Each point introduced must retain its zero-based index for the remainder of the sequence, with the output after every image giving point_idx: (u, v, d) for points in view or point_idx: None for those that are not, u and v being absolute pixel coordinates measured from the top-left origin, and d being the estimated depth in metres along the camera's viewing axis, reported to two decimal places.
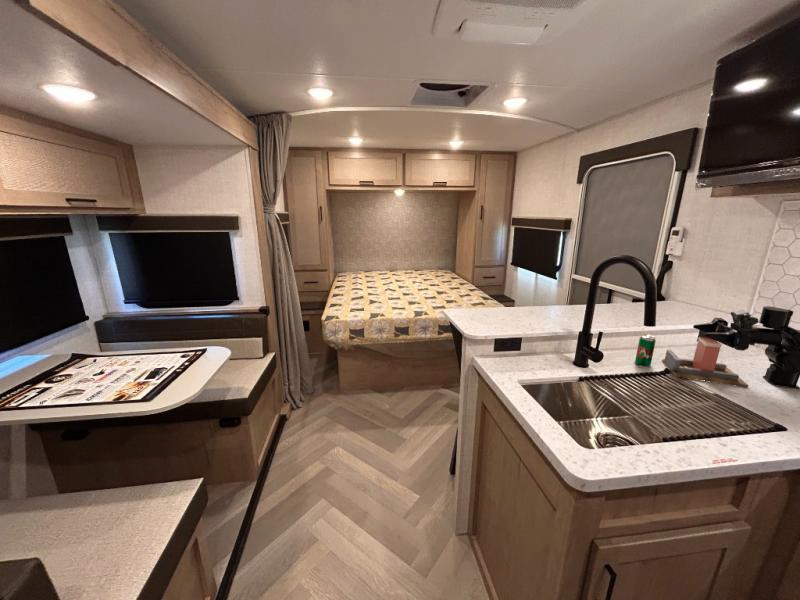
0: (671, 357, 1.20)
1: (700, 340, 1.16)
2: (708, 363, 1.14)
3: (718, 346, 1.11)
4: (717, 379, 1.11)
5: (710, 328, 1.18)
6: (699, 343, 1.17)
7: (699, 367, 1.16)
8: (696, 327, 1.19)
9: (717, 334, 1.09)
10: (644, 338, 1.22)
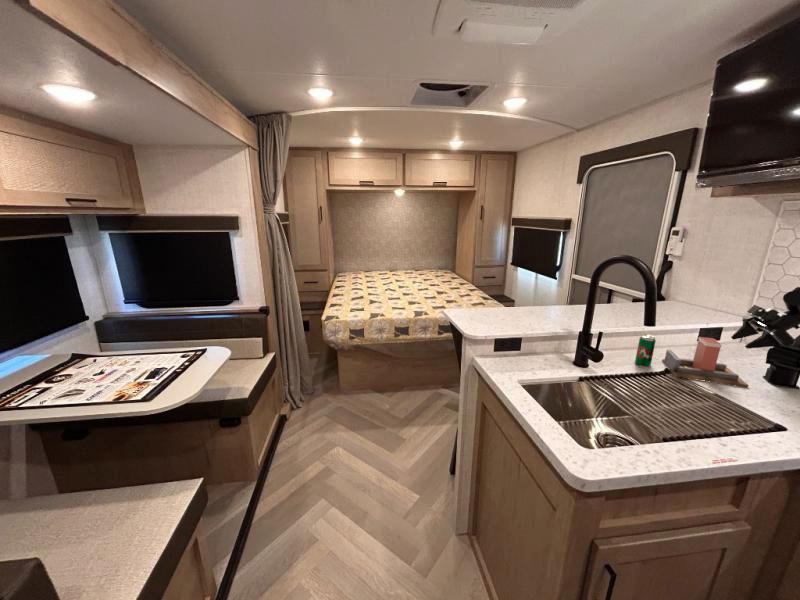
0: (671, 357, 1.20)
1: (700, 340, 1.16)
2: (708, 363, 1.14)
3: (719, 346, 1.11)
4: (717, 379, 1.11)
5: (748, 330, 1.13)
6: (699, 343, 1.17)
7: (699, 367, 1.16)
8: (735, 337, 1.15)
9: (756, 342, 1.05)
10: (644, 338, 1.22)
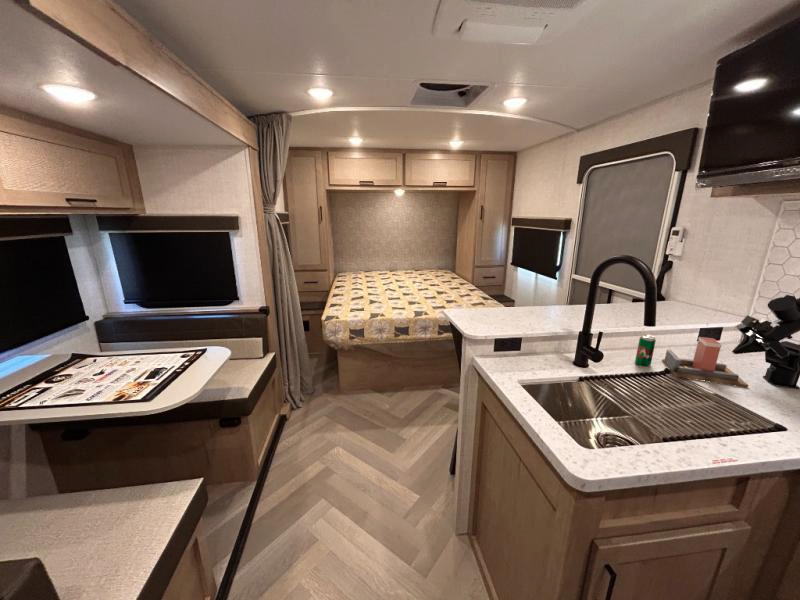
0: (671, 357, 1.20)
1: (700, 340, 1.16)
2: (708, 363, 1.14)
3: (719, 346, 1.11)
4: (717, 379, 1.11)
5: None
6: (699, 343, 1.17)
7: (699, 367, 1.16)
8: None
9: (743, 347, 1.10)
10: (644, 338, 1.22)
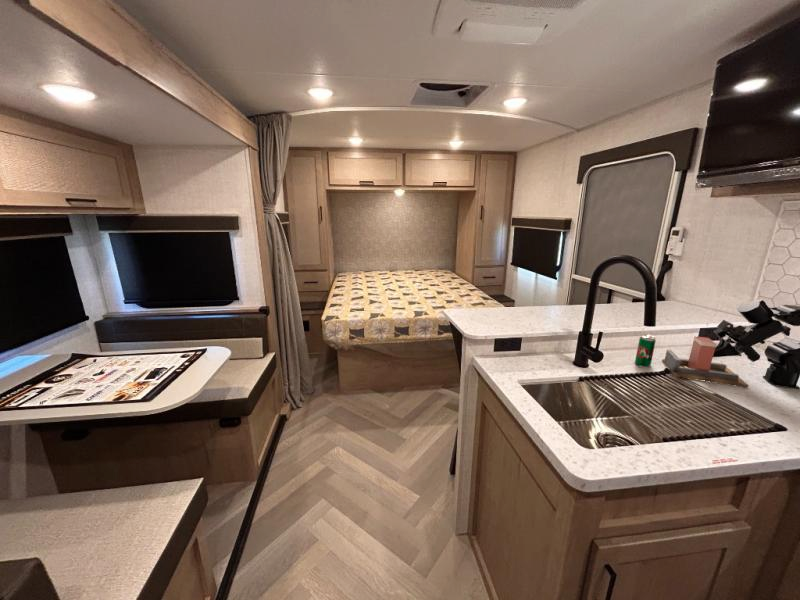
0: (671, 357, 1.20)
1: (696, 340, 1.17)
2: (703, 362, 1.14)
3: (714, 345, 1.12)
4: (717, 379, 1.11)
5: None
6: (694, 343, 1.18)
7: (694, 366, 1.16)
8: None
9: (718, 351, 1.13)
10: (644, 338, 1.22)
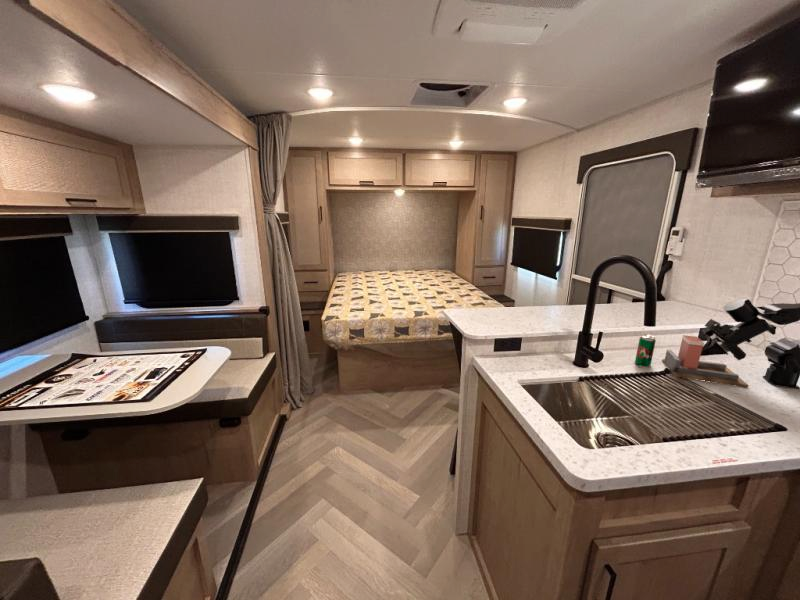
0: (671, 357, 1.20)
1: (684, 338, 1.18)
2: (691, 361, 1.16)
3: (701, 344, 1.13)
4: (717, 379, 1.11)
5: None
6: (683, 341, 1.19)
7: (683, 365, 1.17)
8: None
9: (705, 350, 1.15)
10: (644, 338, 1.22)
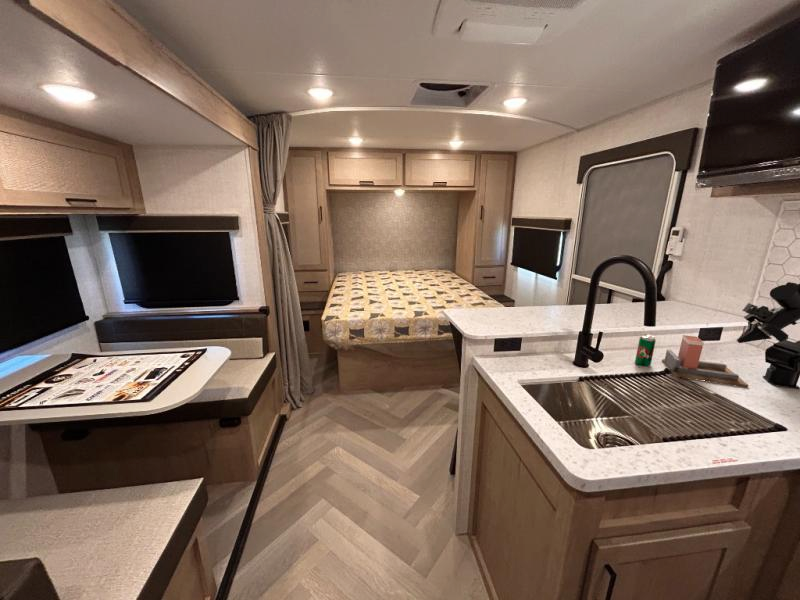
0: (671, 357, 1.20)
1: (684, 338, 1.18)
2: (691, 361, 1.16)
3: (701, 344, 1.13)
4: (717, 379, 1.11)
5: None
6: (683, 341, 1.19)
7: (683, 365, 1.17)
8: None
9: (746, 335, 1.10)
10: (644, 338, 1.22)
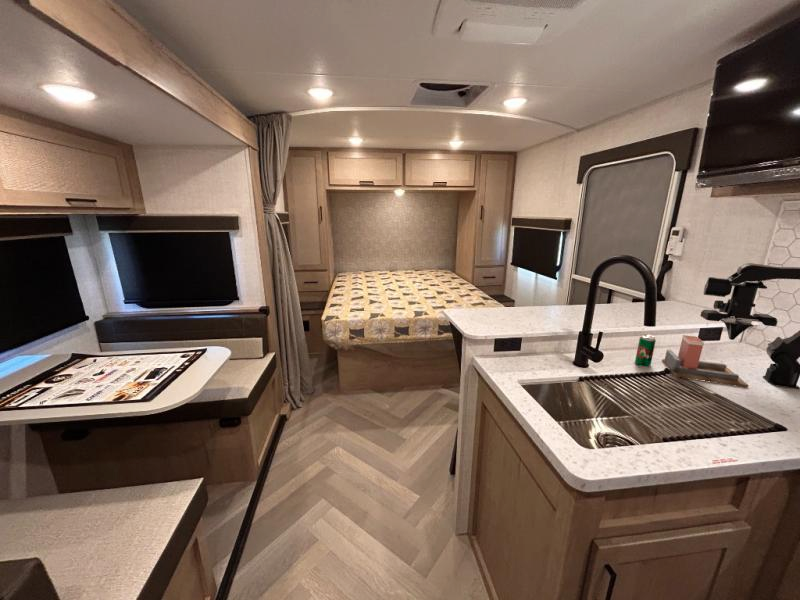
0: (671, 357, 1.20)
1: (684, 338, 1.18)
2: (691, 361, 1.16)
3: (701, 344, 1.13)
4: (717, 379, 1.11)
5: (737, 326, 1.14)
6: (683, 341, 1.19)
7: (683, 365, 1.17)
8: None
9: (727, 330, 1.16)
10: (644, 338, 1.22)
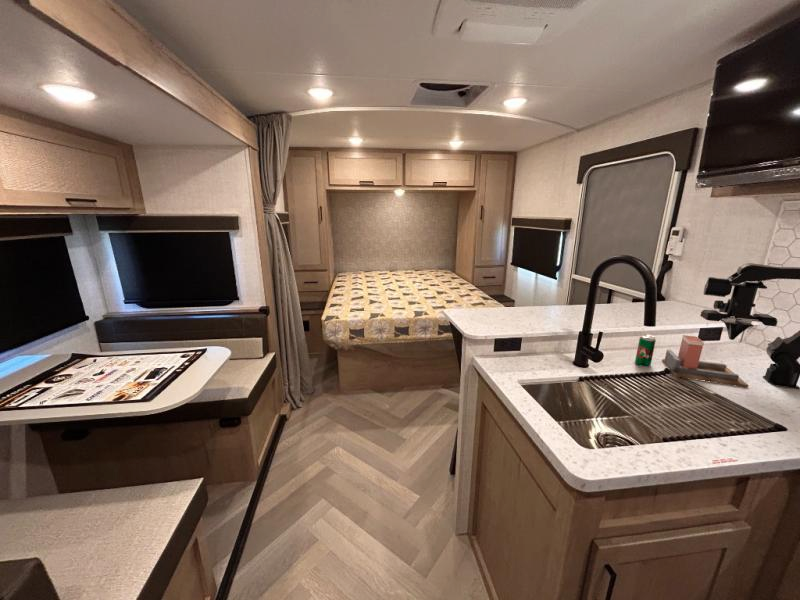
0: (671, 357, 1.20)
1: (684, 338, 1.18)
2: (691, 361, 1.16)
3: (701, 344, 1.13)
4: (717, 379, 1.11)
5: (737, 326, 1.14)
6: (683, 341, 1.19)
7: (683, 365, 1.17)
8: None
9: (727, 330, 1.16)
10: (644, 338, 1.22)
